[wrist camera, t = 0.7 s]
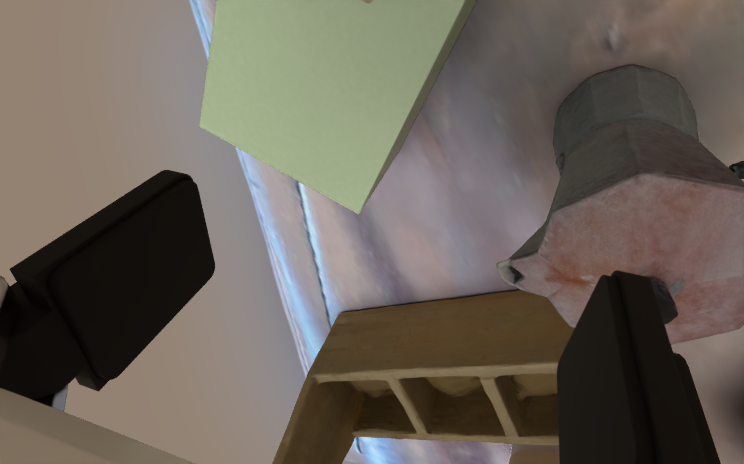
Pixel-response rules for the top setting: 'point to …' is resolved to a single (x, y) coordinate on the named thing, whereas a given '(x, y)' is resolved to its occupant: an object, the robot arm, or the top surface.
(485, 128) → the top surface
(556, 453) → the coffee cup
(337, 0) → the lid
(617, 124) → the moka pot
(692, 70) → the top surface
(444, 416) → the caddy
